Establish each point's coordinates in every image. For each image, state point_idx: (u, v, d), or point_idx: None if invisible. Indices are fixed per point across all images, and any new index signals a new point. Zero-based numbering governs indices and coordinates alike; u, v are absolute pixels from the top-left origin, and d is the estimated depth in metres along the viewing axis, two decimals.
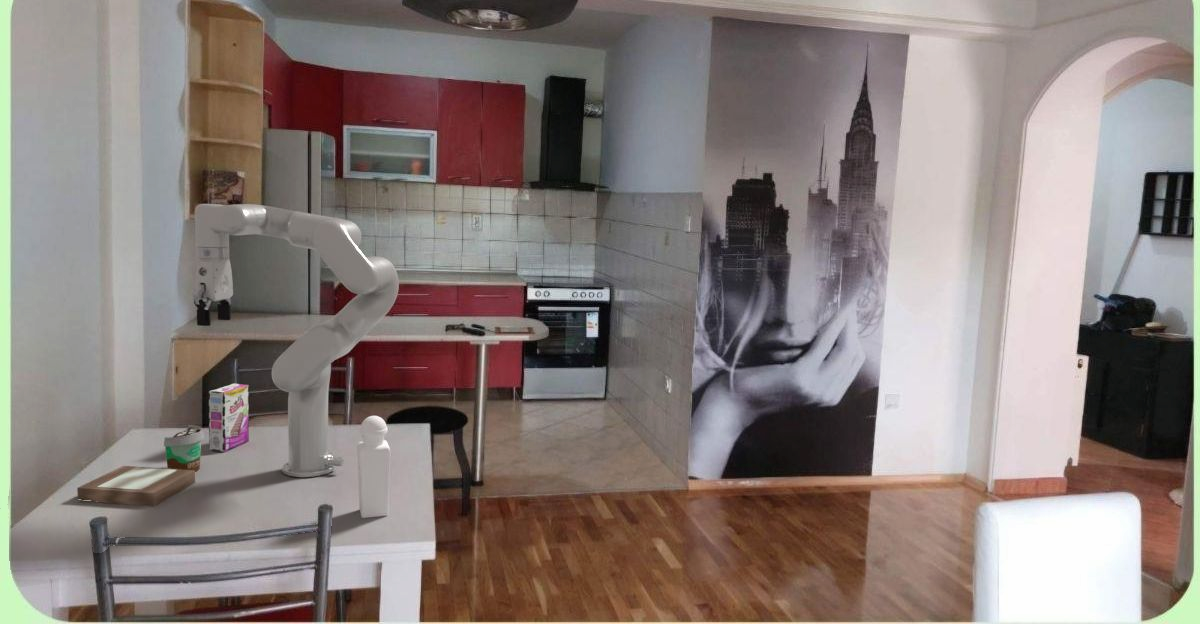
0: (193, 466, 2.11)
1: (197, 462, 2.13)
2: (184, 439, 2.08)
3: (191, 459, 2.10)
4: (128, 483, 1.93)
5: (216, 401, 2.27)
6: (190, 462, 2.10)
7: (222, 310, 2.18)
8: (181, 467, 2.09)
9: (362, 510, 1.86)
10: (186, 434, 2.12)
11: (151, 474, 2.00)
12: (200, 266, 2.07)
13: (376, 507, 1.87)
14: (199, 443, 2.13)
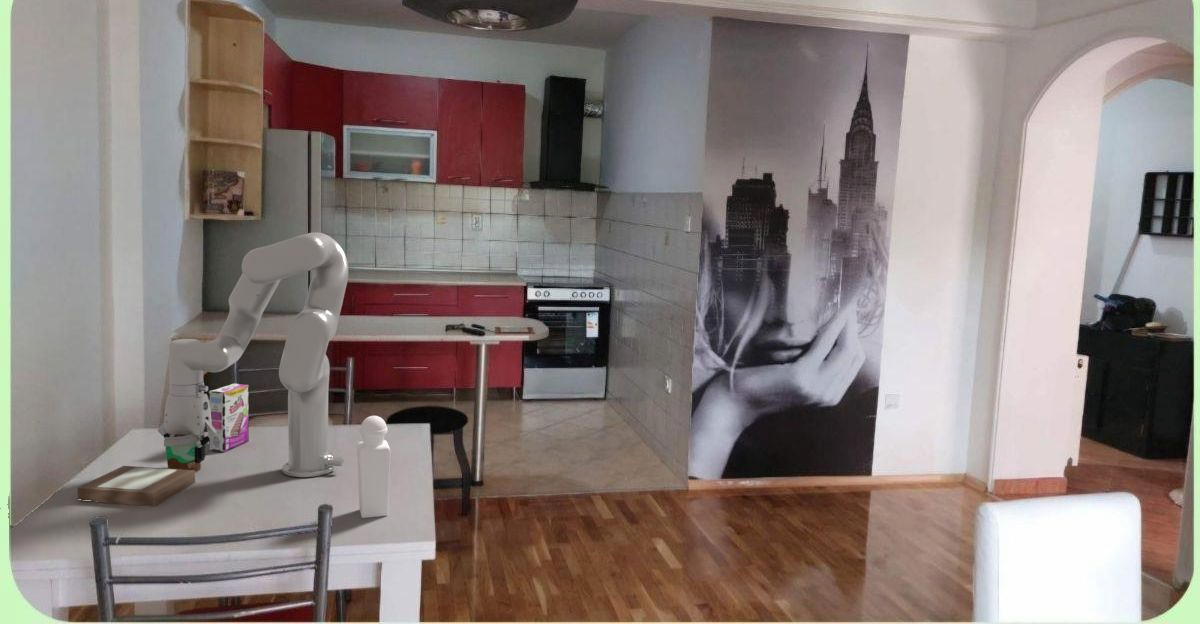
0: (194, 466, 2.11)
1: None
2: (184, 439, 2.08)
3: (191, 459, 2.10)
4: (128, 483, 1.93)
5: (216, 401, 2.27)
6: (190, 462, 2.10)
7: None
8: (182, 466, 2.09)
9: (362, 510, 1.86)
10: None
11: (151, 474, 2.00)
12: (203, 402, 2.10)
13: (376, 507, 1.87)
14: None
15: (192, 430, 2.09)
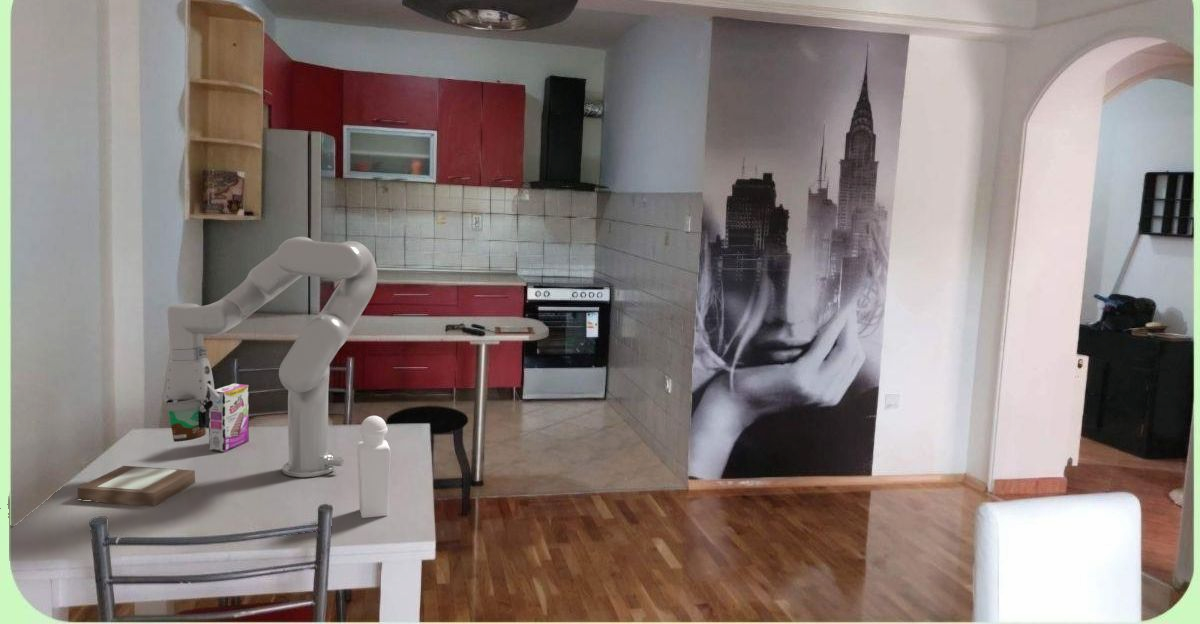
0: (198, 431, 2.10)
1: None
2: (187, 403, 2.07)
3: (196, 424, 2.09)
4: (128, 483, 1.93)
5: None
6: (194, 427, 2.09)
7: None
8: (186, 431, 2.08)
9: (362, 510, 1.86)
10: None
11: (151, 474, 2.00)
12: (204, 365, 2.08)
13: (376, 507, 1.87)
14: None
15: (195, 394, 2.08)
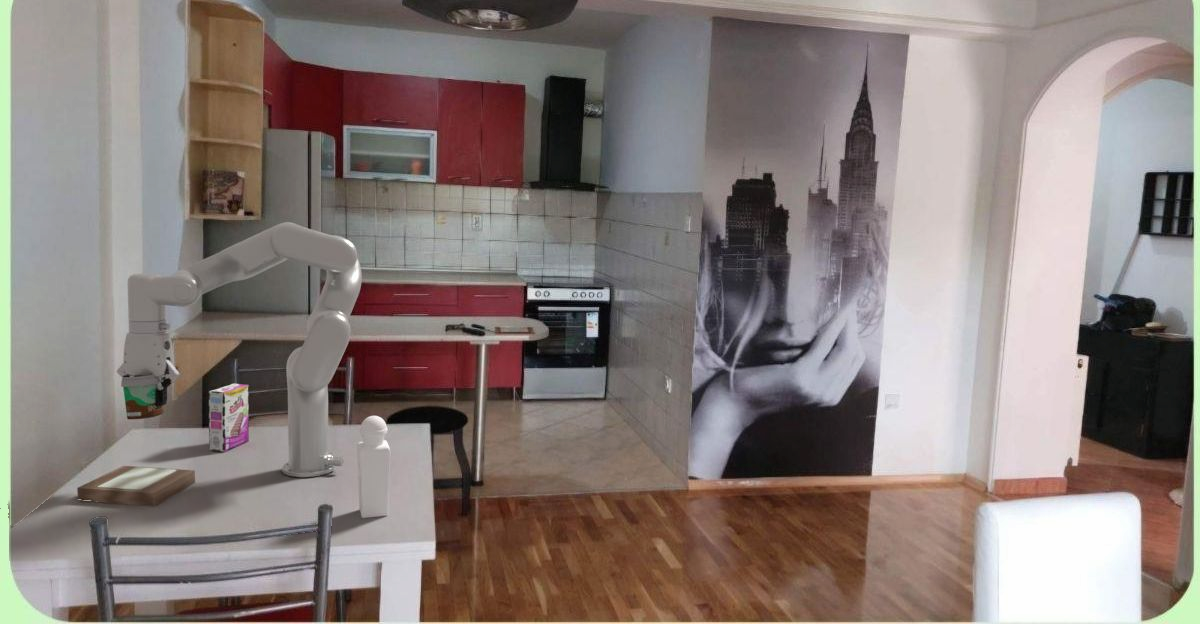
0: (154, 409, 1.97)
1: None
2: (143, 379, 1.94)
3: (152, 401, 1.97)
4: (128, 483, 1.93)
5: (216, 401, 2.27)
6: (150, 405, 1.96)
7: None
8: (141, 409, 1.95)
9: (362, 510, 1.86)
10: None
11: (151, 474, 2.00)
12: (164, 340, 1.96)
13: (376, 507, 1.87)
14: None
15: (152, 371, 1.96)
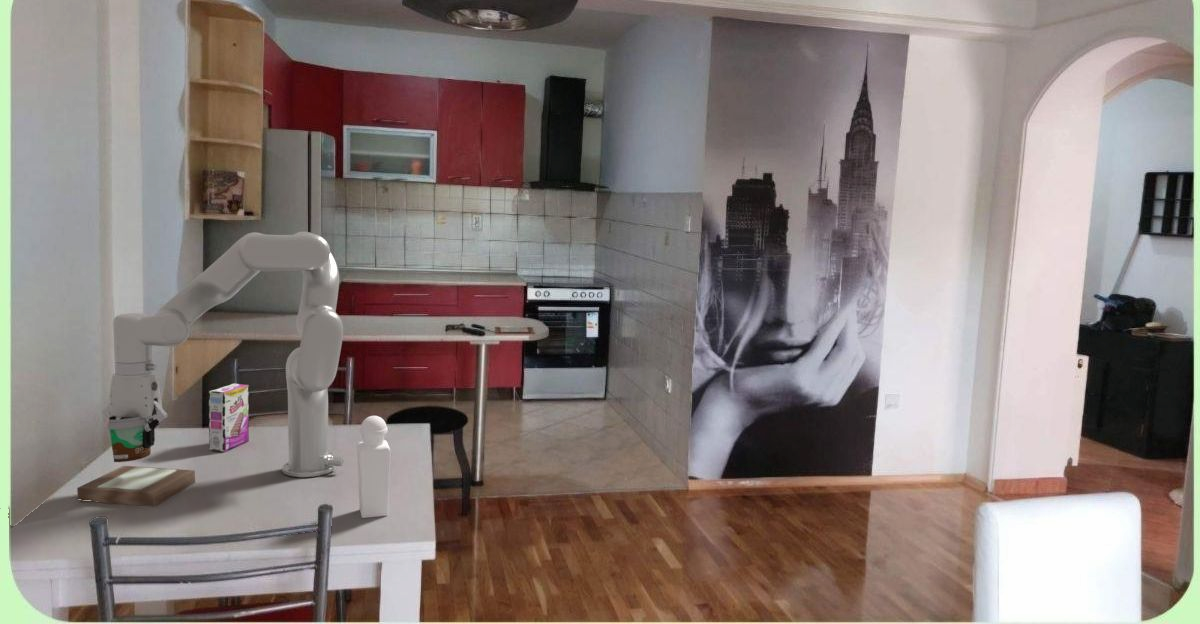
0: (142, 451, 1.94)
1: None
2: (130, 421, 1.91)
3: (139, 443, 1.94)
4: (128, 483, 1.93)
5: (217, 401, 2.27)
6: (137, 447, 1.93)
7: None
8: (128, 452, 1.92)
9: (362, 510, 1.86)
10: None
11: (151, 474, 2.00)
12: (151, 381, 1.93)
13: (376, 507, 1.87)
14: None
15: (139, 412, 1.93)
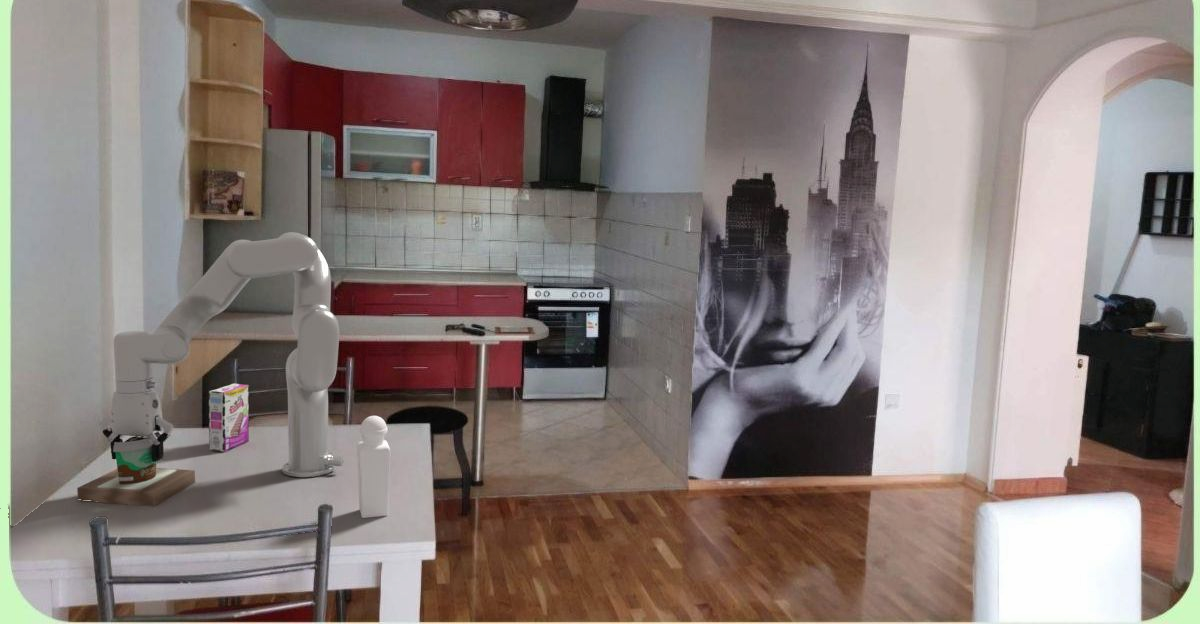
0: (147, 473, 1.95)
1: (152, 469, 1.97)
2: (135, 444, 1.92)
3: (144, 466, 1.94)
4: None
5: (216, 401, 2.27)
6: (143, 469, 1.94)
7: None
8: (133, 474, 1.93)
9: (362, 510, 1.86)
10: (140, 438, 1.96)
11: None
12: (152, 399, 1.94)
13: (376, 507, 1.87)
14: None
15: (140, 430, 1.93)
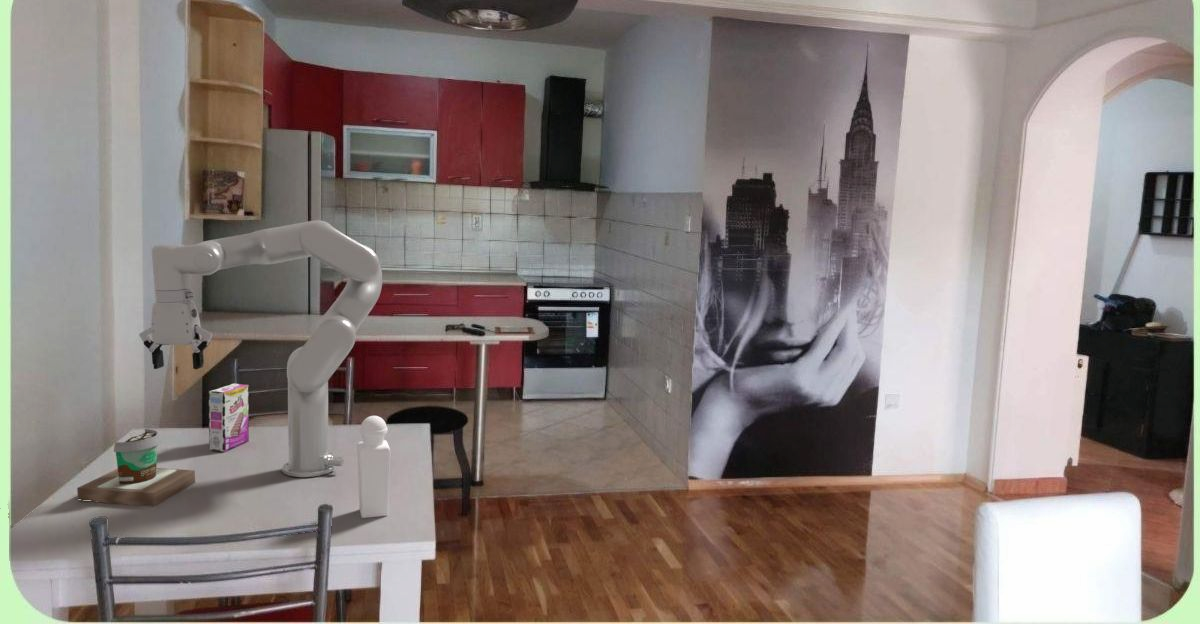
0: (147, 473, 1.95)
1: (152, 469, 1.97)
2: (136, 444, 1.92)
3: (145, 466, 1.94)
4: None
5: (216, 401, 2.27)
6: (143, 470, 1.94)
7: (159, 357, 2.03)
8: (134, 474, 1.93)
9: (362, 510, 1.86)
10: (140, 439, 1.96)
11: None
12: (191, 308, 2.00)
13: (376, 507, 1.87)
14: (154, 449, 1.97)
15: (181, 338, 2.00)
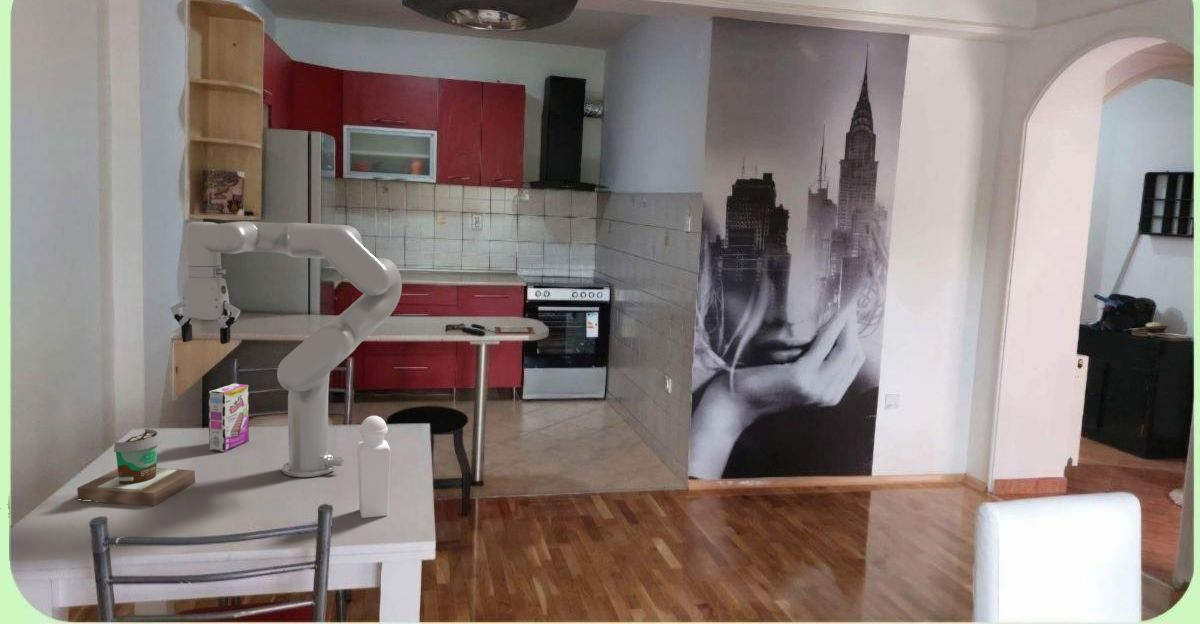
0: (147, 473, 1.95)
1: (152, 469, 1.97)
2: (136, 444, 1.92)
3: (145, 466, 1.94)
4: None
5: (216, 401, 2.27)
6: (143, 470, 1.94)
7: (188, 331, 2.10)
8: (134, 474, 1.93)
9: (362, 510, 1.86)
10: (140, 439, 1.96)
11: None
12: (221, 285, 2.07)
13: (376, 507, 1.87)
14: (154, 449, 1.97)
15: (210, 313, 2.07)
